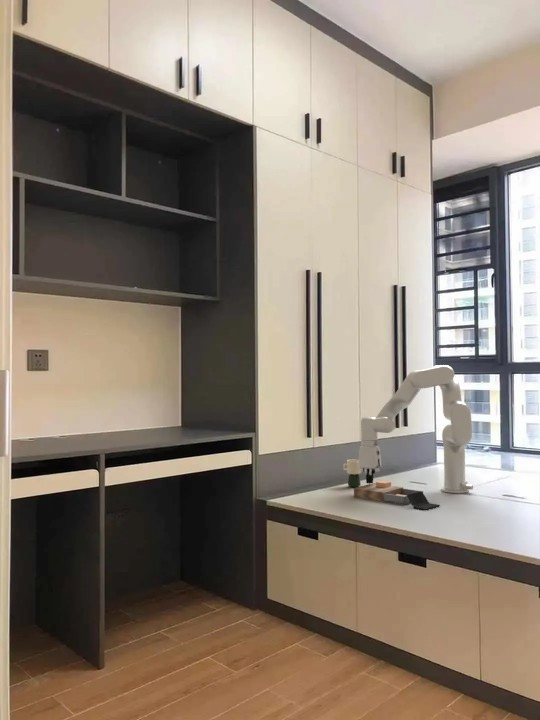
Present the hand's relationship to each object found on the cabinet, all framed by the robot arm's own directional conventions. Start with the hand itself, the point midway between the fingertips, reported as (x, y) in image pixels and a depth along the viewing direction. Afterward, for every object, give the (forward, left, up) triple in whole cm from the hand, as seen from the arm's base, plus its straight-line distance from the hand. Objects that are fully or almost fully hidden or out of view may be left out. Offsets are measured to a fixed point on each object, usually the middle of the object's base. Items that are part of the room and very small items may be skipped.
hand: (369, 483), depth 289 cm
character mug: (+14, -8, -5) cm, 17 cm away
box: (-21, +4, -5) cm, 21 cm away
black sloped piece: (-34, +10, -5) cm, 35 cm away
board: (-8, +4, -5) cm, 10 cm away
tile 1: (-21, +8, -2) cm, 23 cm away
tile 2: (-8, 0, -1) cm, 8 cm away
